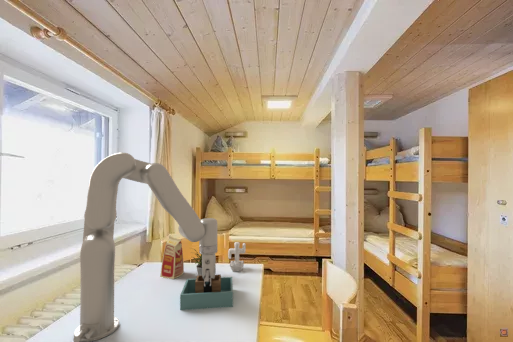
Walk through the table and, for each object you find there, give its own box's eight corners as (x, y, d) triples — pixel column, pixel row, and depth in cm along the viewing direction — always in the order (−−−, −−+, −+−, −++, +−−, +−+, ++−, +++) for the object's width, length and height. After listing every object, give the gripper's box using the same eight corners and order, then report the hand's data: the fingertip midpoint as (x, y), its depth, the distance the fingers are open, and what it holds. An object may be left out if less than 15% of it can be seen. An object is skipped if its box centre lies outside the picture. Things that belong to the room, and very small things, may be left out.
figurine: (228, 267, 139) (228, 240, 140) (245, 267, 140) (245, 240, 140) (227, 272, 132) (227, 244, 133) (245, 272, 133) (245, 243, 133)
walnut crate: (220, 296, 101) (220, 280, 101) (195, 298, 100) (195, 282, 100) (220, 289, 108) (220, 274, 108) (197, 290, 106) (197, 275, 107)
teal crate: (232, 307, 97) (232, 292, 97) (180, 310, 95) (180, 295, 95) (232, 290, 112) (232, 276, 112) (186, 292, 110) (186, 279, 110)
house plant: (185, 274, 129) (185, 243, 130) (211, 270, 135) (211, 240, 136) (191, 285, 116) (191, 250, 117) (219, 279, 123) (219, 246, 123)
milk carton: (160, 277, 126) (160, 237, 127) (171, 270, 135) (171, 233, 135) (175, 279, 123) (175, 238, 124) (186, 272, 132) (186, 234, 133)
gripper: (216, 254, 96) (216, 301, 96) (218, 242, 113) (218, 282, 113) (196, 255, 95) (196, 302, 95) (201, 243, 112) (201, 283, 112)
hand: (208, 291), depth 104 cm, fingers closed on walnut crate, 6 cm apart
